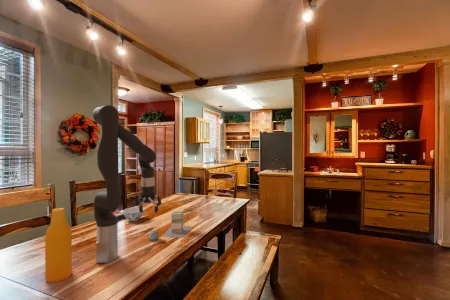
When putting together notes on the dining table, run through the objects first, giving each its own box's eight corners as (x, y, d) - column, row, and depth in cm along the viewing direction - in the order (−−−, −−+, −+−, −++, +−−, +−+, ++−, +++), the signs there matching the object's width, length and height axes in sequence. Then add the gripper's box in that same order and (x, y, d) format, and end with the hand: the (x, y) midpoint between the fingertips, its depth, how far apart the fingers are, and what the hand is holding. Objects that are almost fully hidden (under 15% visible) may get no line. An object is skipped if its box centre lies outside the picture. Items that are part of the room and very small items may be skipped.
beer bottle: (54, 285, 92) (53, 213, 91) (40, 280, 95) (39, 210, 95) (77, 273, 100) (76, 207, 100) (62, 269, 104) (62, 205, 103)
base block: (180, 233, 143) (180, 223, 143) (171, 232, 143) (171, 223, 143) (183, 229, 149) (183, 220, 149) (174, 229, 149) (174, 220, 149)
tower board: (184, 240, 136) (184, 237, 136) (161, 239, 137) (161, 236, 137) (191, 228, 155) (191, 226, 155) (171, 227, 156) (171, 225, 156)
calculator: (128, 212, 181) (113, 216, 167) (128, 217, 181) (113, 222, 167) (117, 210, 185) (102, 215, 171) (117, 216, 185) (101, 221, 171)
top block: (180, 223, 143) (180, 214, 143) (171, 223, 143) (171, 213, 143) (183, 220, 149) (183, 211, 149) (174, 220, 149) (174, 211, 149)
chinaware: (120, 219, 174) (120, 209, 174) (140, 215, 183) (140, 206, 183) (126, 224, 162) (126, 213, 162) (147, 220, 172) (147, 210, 172)
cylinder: (156, 244, 130) (156, 233, 130) (147, 243, 131) (147, 233, 131) (159, 240, 135) (159, 230, 135) (151, 240, 136) (151, 230, 136)
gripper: (133, 186, 129) (133, 214, 129) (157, 186, 128) (158, 214, 129) (138, 183, 136) (139, 210, 137) (162, 183, 135) (163, 210, 136)
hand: (148, 212), depth 133 cm, fingers open, 8 cm apart
